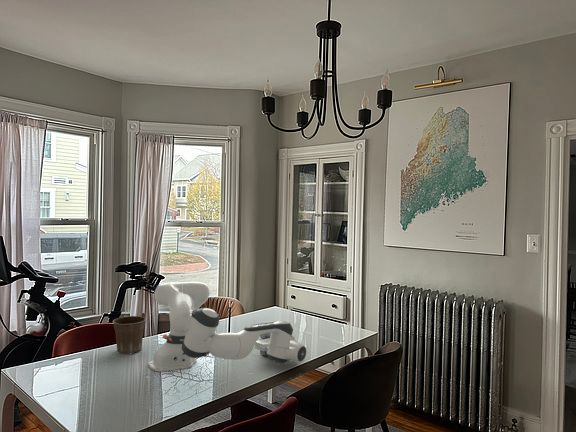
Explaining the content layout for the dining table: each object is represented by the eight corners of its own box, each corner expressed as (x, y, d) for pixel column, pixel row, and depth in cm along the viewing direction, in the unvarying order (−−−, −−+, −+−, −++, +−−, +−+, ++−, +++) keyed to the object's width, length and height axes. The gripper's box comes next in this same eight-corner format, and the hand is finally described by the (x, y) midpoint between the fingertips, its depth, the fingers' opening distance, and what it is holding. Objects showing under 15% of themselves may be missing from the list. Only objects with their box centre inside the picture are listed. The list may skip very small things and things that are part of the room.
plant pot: (118, 357, 222) (118, 325, 222) (108, 349, 235) (108, 318, 234) (150, 351, 233) (150, 320, 232) (138, 343, 245) (138, 314, 245)
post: (264, 355, 228) (265, 330, 227) (260, 353, 231) (260, 328, 230) (270, 354, 230) (271, 329, 230) (266, 352, 233) (266, 327, 233)
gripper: (264, 356, 214) (247, 348, 224) (296, 348, 227) (279, 341, 237) (264, 343, 214) (248, 336, 224) (297, 335, 227) (280, 329, 237)
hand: (264, 338), depth 231 cm, fingers closed on post, 4 cm apart
